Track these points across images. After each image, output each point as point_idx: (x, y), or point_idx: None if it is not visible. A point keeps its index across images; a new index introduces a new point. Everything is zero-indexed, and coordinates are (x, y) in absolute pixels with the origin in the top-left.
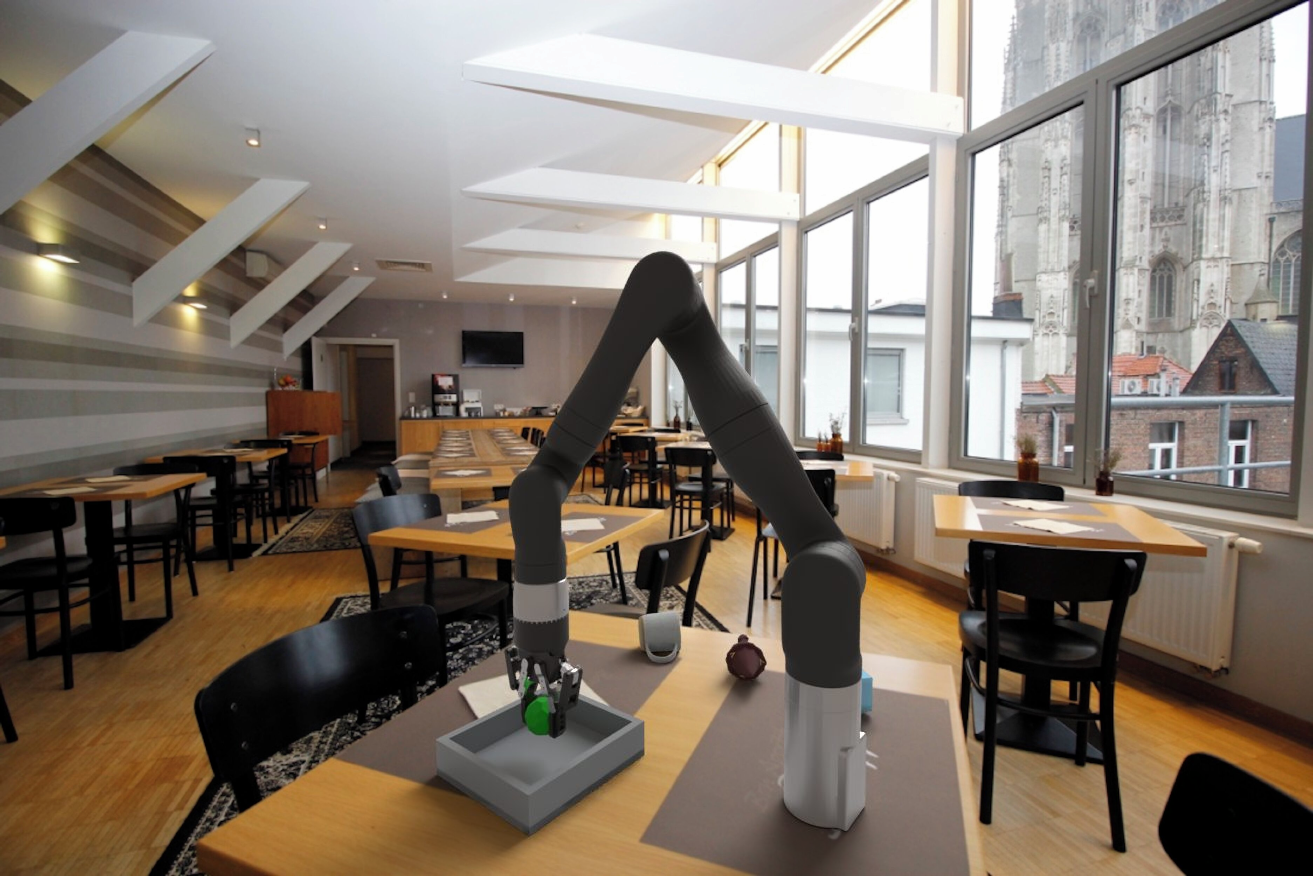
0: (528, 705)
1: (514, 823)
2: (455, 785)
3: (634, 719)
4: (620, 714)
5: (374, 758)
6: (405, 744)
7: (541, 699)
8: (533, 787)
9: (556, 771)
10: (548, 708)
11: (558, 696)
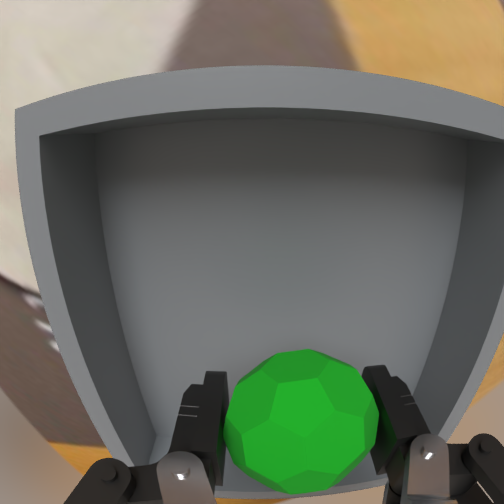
0: (223, 455)
1: None
2: None
3: None
4: (478, 120)
5: (55, 431)
6: (36, 397)
7: (301, 485)
8: None
9: (441, 434)
10: (354, 465)
11: (403, 483)
